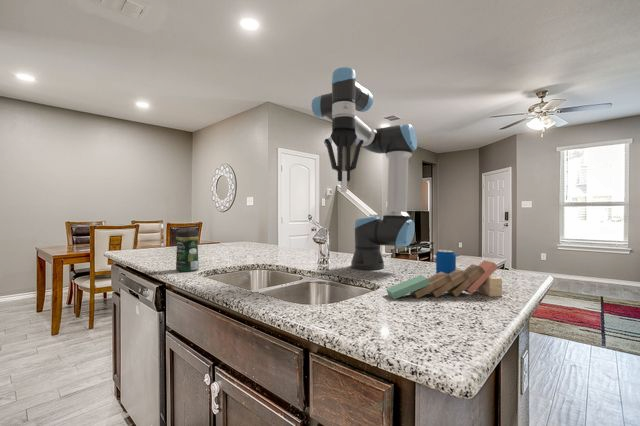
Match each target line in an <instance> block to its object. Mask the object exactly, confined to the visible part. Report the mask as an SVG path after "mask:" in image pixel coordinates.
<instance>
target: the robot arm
mask: <svg viewBox="0 0 640 426" xmlns="http://www.w3.org/2000/svg"><path fill="white" fill-rule="evenodd" d="M331 75H332V76H331V92H330V93H329V92H328V93H325V94H320V95H319V96H318V95H317V96H315V97H314V98H313V99H312V102H311V111H312V113H313V115H314V116H315V117H316V118H323V117H326V119H328V120H330V121H331V134H330V137H328V138H325V139H324V141H323V143H324V145H325V147H326V150H327V152H328V157H329V161H330V165H331V169H332V170H333V171H336V173H337V181H338V182H340V192H341V193H346V192H348V182H350V181H351V171H353V170H355V169H356V168H357V163H358V159H359V155H360V152H361V148H362V149H365V150H366V151H369V152H372V153H374V154H385V157H386V158H387V159H388V167H387V168H388V171H387V173H388V174H387V193H386V194H387V199H386V212H385V213H384V214H383V215H382V219H381V217H380V216H371V217H370V216H367V217H362V218H358V219H357V218H356V220H355V222H354V252H353V255H352V258H351V263H350V266H351V268H352V267H353V268H352V269H357V270H366V271H372V270H373V271H374V270H382V269H384V268H385V261H384V259H383V255H382V252H381V246H383V247H384V246H386V247H397V248H398V247H402V248H403V247H405V248H406V247H408V246H410V245H411V244H412V241H413V239H414V236H415V235H414V234H415V230H416V229H415V221H414V220H412V219H411V215H409V213H408V209H407V208H408V188H409V185H408V181H409V179H408V178H409V159H410V158H411V157H413V151H415V150H417V147H418V138H417V133H416V131H415V128H414V127H413V125H411V124H409V123H406V124H399V125H392V126H385V127H379V128H373V127H372V126H370V125H367V124H365V123H364V122H363V121H362V120H361V119H360V118H359V117H358V116H357V115H356V111H357V112H361V113H365V112H367V111H369V110H370V109H371V108H372V106H373V103H374V95H373V94H372V93H371V92H370V91H369V90H368V89H367V88H366V87H364V86H363V85H361V84H360V83H358V82H357V81H356V79H357V76H356V71H355V69H353V68H352V67H347V66H345V67H344V66H343V67H339V68H336V69H334V71H333V72H332V74H331ZM333 143H334V145H335V146H336V152H337V153H336V154H337V155H336V156H337V157H335V153H334V148H333V145H332V144H333ZM353 145H355V147H354V150H353V156H352V159H351V147H352V146H353ZM343 148H344V170H343ZM336 160H337V161H336Z"/></svg>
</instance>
